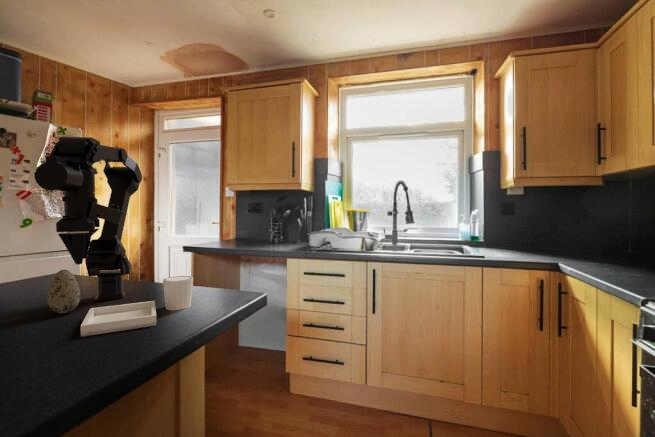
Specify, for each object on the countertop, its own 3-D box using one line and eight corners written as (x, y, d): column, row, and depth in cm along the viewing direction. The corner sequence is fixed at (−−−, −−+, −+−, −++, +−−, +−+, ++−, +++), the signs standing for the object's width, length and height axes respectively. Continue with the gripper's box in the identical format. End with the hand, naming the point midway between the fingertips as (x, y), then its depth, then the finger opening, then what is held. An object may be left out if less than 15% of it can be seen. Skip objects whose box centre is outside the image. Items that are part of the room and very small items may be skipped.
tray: (90, 317, 73) (90, 308, 73) (154, 309, 79) (154, 300, 79) (80, 336, 62) (80, 326, 62) (156, 325, 68) (156, 315, 68)
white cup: (156, 308, 80) (156, 279, 80) (180, 301, 86) (180, 274, 86) (175, 312, 77) (175, 282, 77) (199, 305, 83) (199, 277, 83)
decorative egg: (77, 307, 81) (76, 266, 80) (83, 312, 77) (82, 269, 77) (45, 313, 76) (44, 269, 76) (50, 318, 72) (49, 273, 72)
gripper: (120, 192, 72) (122, 264, 72) (121, 194, 88) (123, 253, 88) (54, 190, 66) (56, 269, 66) (68, 193, 82) (70, 257, 82)
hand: (81, 261), depth 76 cm, fingers open, 9 cm apart
